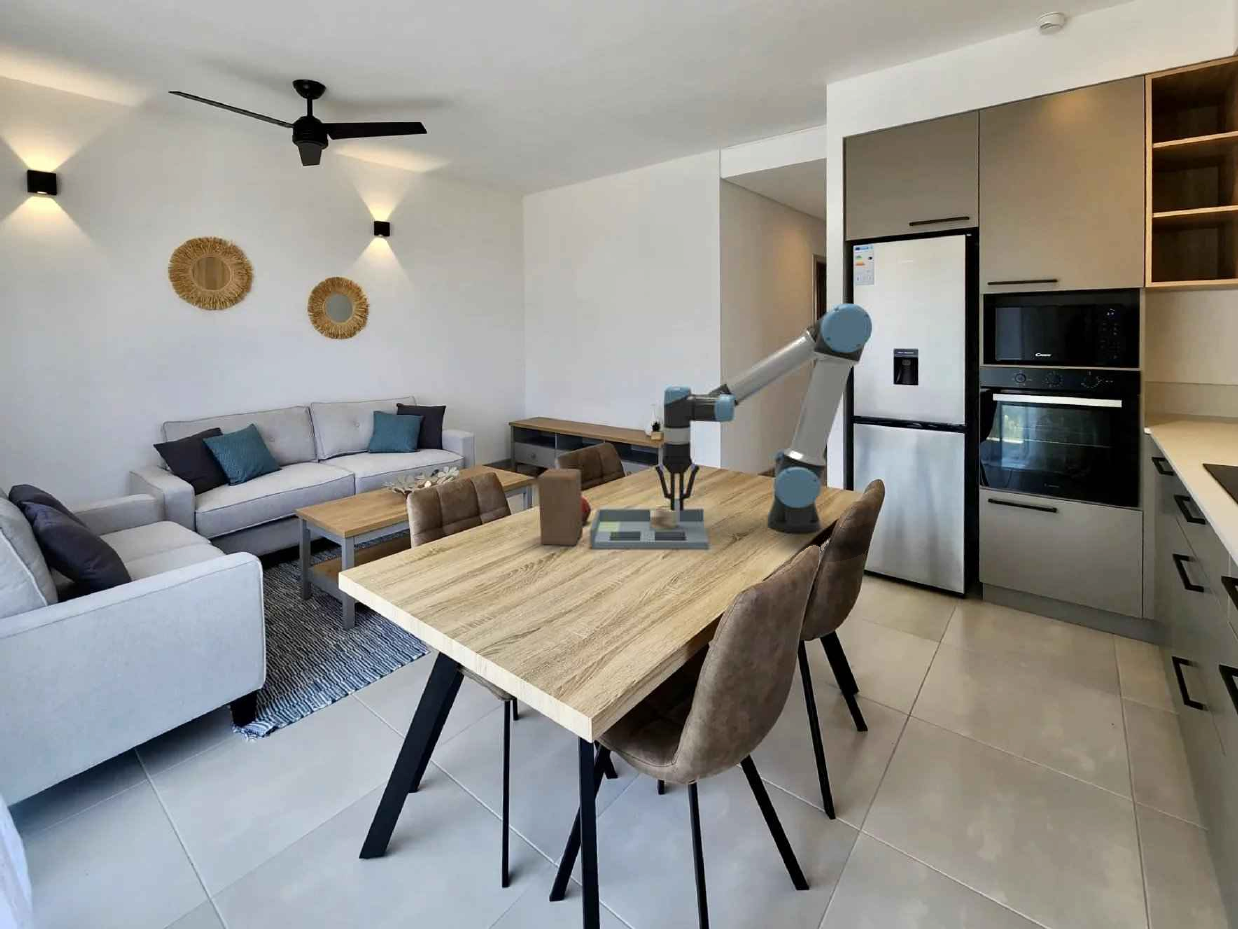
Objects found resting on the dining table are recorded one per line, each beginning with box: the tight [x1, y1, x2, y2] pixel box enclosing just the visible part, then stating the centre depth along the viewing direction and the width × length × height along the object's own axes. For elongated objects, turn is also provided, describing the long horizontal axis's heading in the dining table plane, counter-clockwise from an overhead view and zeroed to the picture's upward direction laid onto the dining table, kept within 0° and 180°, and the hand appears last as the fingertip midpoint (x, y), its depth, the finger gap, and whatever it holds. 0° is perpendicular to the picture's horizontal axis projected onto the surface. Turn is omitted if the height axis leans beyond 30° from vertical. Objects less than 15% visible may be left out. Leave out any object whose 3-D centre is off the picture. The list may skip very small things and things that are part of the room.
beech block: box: [650, 510, 675, 530], centre depth 176 cm, size 7×7×4 cm
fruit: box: [581, 496, 592, 524], centre depth 187 cm, size 9×10×10 cm
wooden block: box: [537, 468, 584, 546], centre depth 170 cm, size 10×10×20 cm
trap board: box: [589, 508, 710, 550], centre depth 173 cm, size 32×20×6 cm, turn 86°
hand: (676, 521), depth 176 cm, fingers closed
